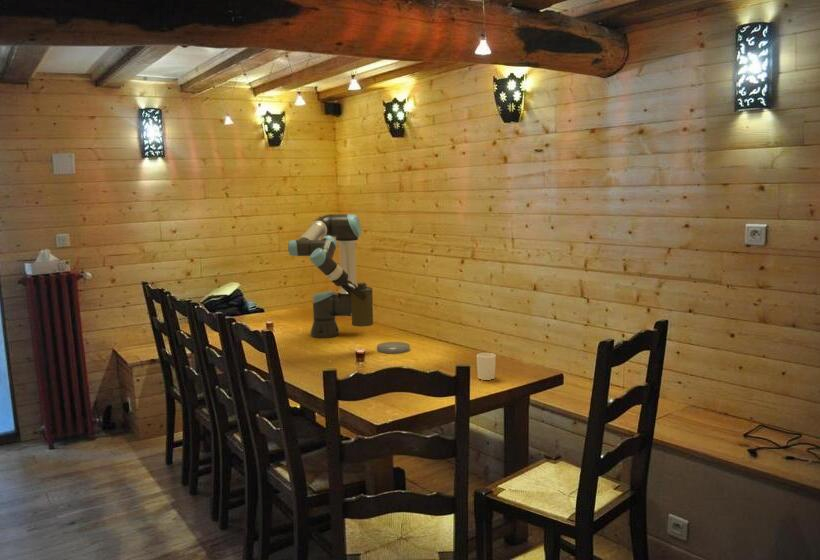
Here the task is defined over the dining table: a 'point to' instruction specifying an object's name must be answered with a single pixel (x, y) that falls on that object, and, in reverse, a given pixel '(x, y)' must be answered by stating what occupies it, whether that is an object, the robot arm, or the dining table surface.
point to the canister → (362, 307)
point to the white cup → (486, 365)
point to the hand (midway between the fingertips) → (369, 306)
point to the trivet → (393, 347)
